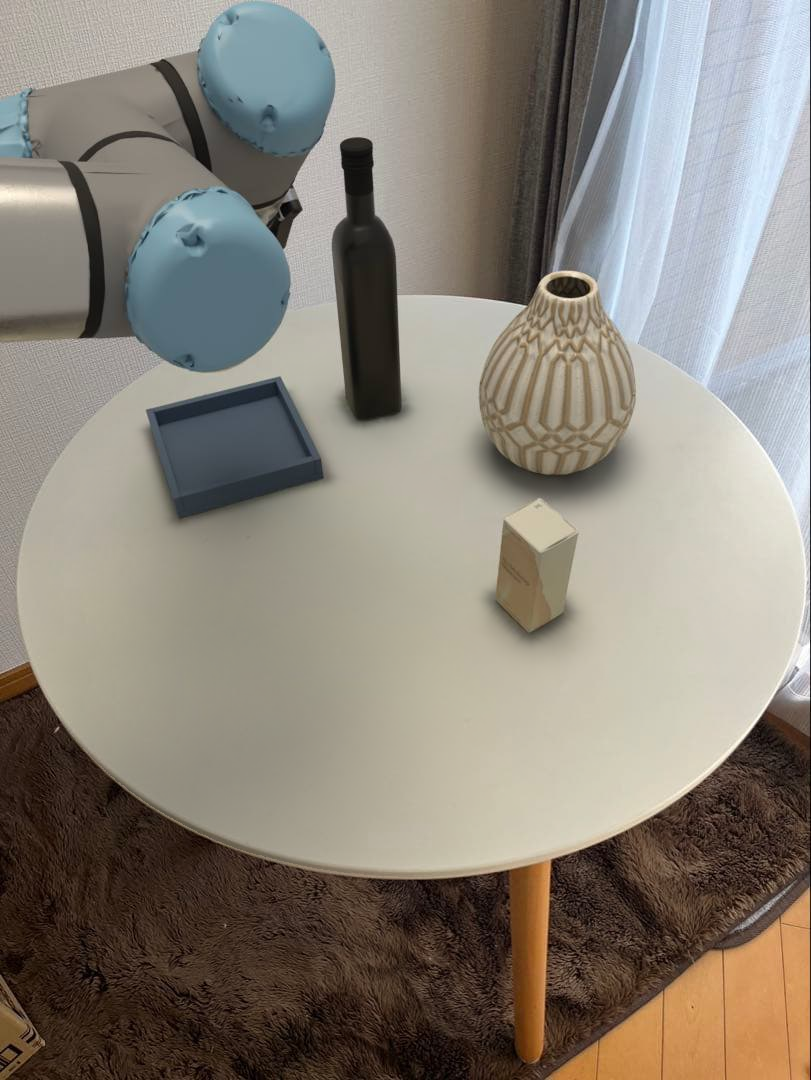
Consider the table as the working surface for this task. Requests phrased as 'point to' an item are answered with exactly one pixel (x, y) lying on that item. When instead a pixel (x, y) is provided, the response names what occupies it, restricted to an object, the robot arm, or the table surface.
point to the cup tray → (233, 446)
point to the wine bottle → (366, 292)
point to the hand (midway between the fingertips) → (191, 287)
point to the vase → (558, 380)
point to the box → (535, 564)
